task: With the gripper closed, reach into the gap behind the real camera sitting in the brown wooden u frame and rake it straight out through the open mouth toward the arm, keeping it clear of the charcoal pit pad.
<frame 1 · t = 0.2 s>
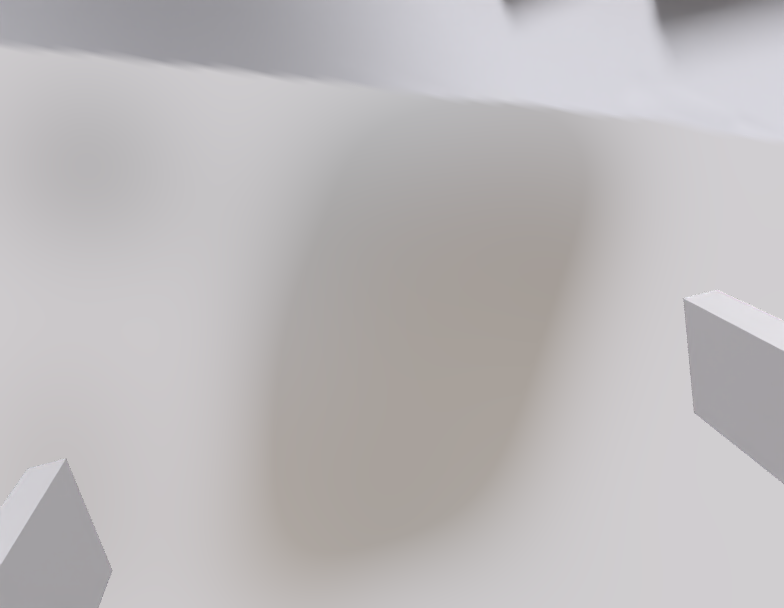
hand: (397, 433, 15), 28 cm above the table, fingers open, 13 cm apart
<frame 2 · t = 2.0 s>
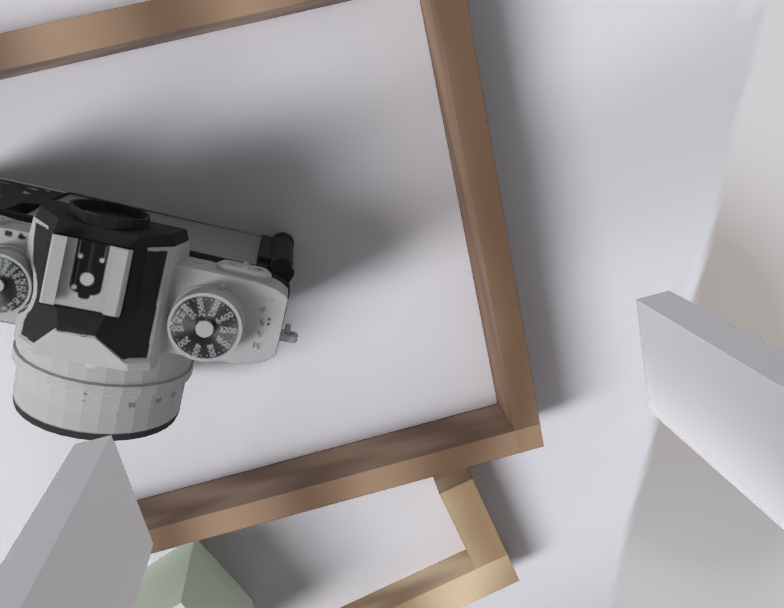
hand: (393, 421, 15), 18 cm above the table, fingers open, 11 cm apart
crook: (387, 600, 39), on the table
sage cube: (185, 593, 37), on the table
camera: (121, 274, 32), on the table
brown wooden u frame: (239, 269, 32), on the table
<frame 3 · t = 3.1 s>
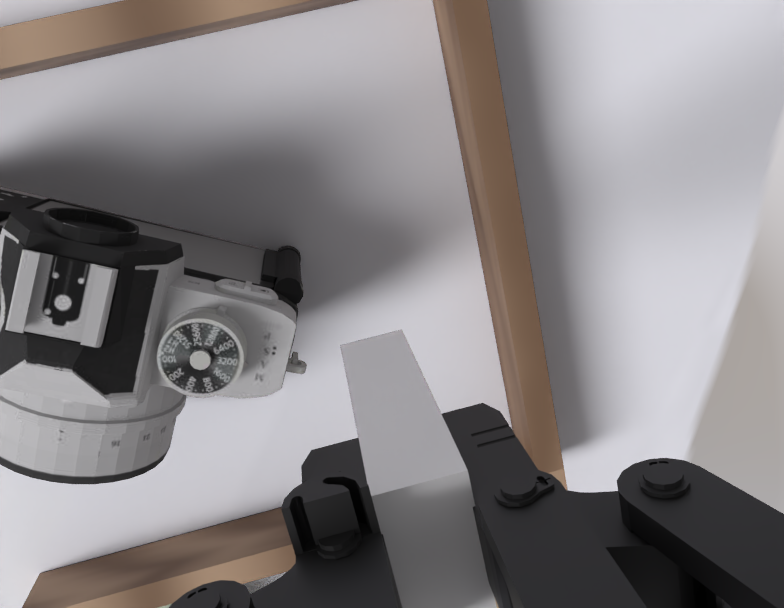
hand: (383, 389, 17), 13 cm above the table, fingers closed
camera: (107, 290, 29), on the table
brown wooden u frame: (231, 298, 29), on the table
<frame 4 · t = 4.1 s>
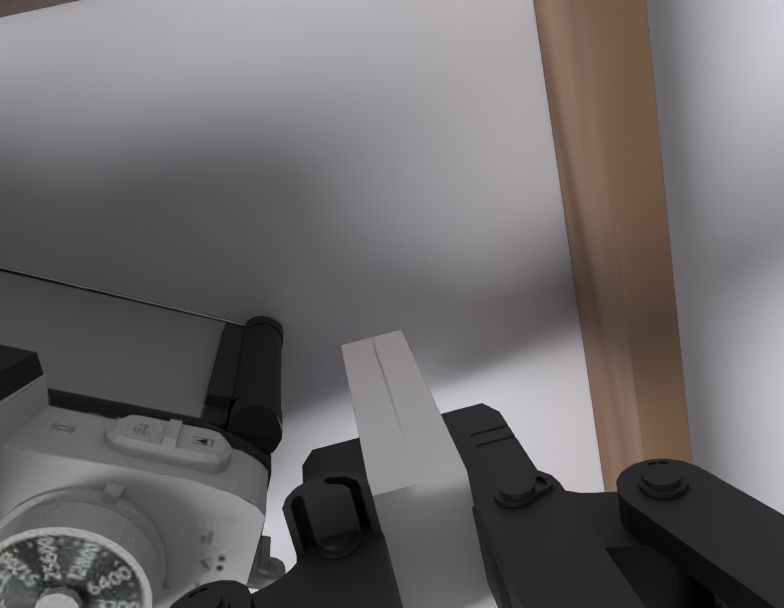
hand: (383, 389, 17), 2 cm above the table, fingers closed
brown wooden u frame: (195, 412, 18), on the table
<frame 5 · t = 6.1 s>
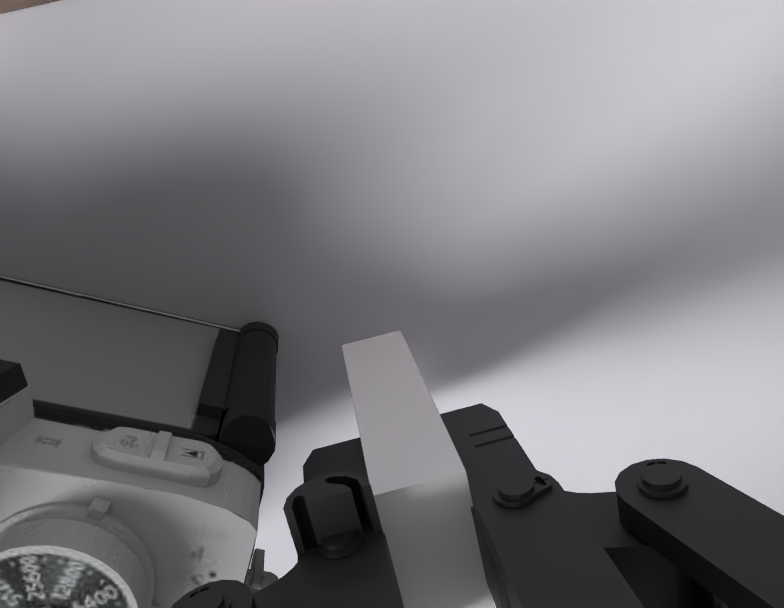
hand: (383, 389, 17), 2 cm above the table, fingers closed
brown wooden u frame: (572, 313, 19), on the table
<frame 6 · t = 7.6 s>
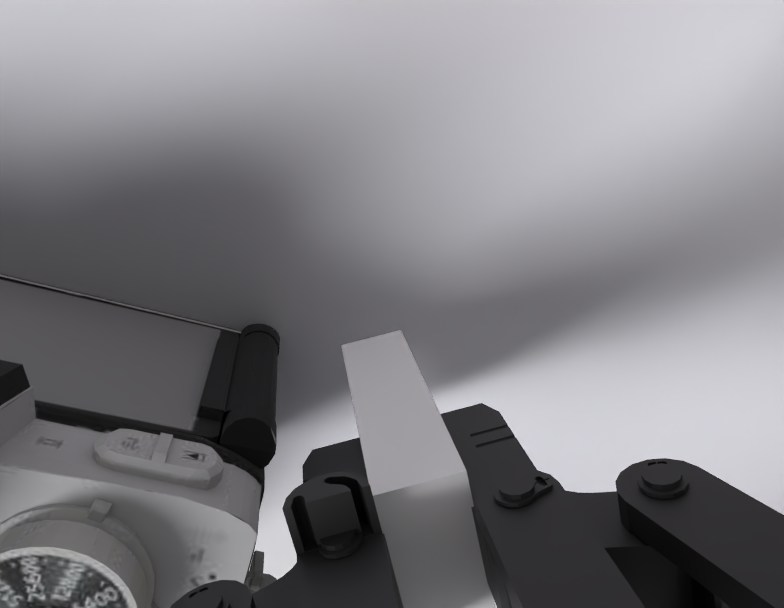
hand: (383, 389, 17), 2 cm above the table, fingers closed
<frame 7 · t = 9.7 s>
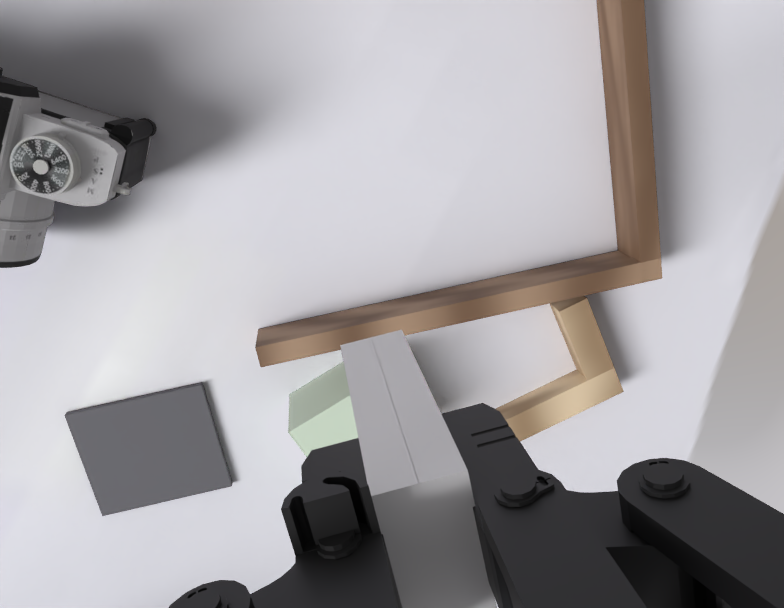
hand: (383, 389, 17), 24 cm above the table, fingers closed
crook: (507, 416, 45), on the table
sage cube: (346, 403, 44), on the table
pit pad: (152, 448, 43), on the table
camera: (5, 143, 37), on the table
brown wooden u frame: (420, 116, 39), on the table
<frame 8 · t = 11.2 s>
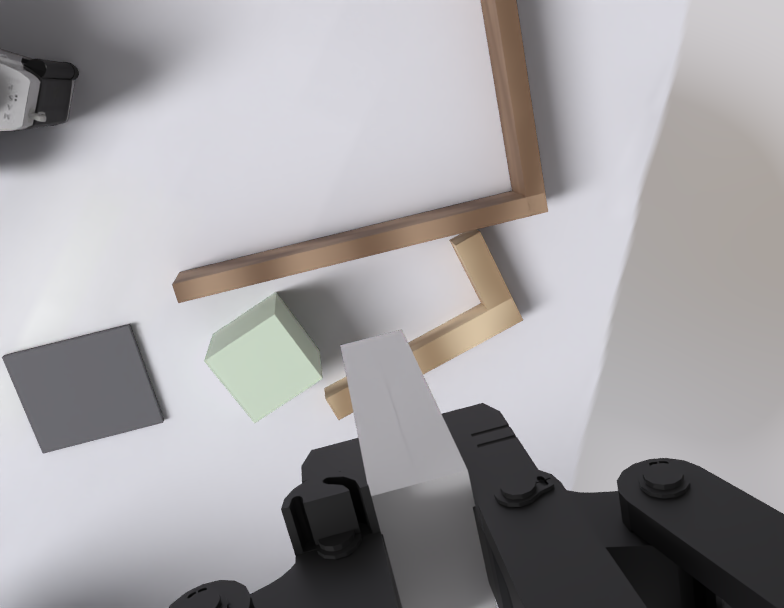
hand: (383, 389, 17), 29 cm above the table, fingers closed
crook: (420, 350, 49), on the table
sage cube: (266, 342, 47), on the table
pit pad: (86, 388, 46), on the table
brown wooden u frame: (317, 69, 42), on the table
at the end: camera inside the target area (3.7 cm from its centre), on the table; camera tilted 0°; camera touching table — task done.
